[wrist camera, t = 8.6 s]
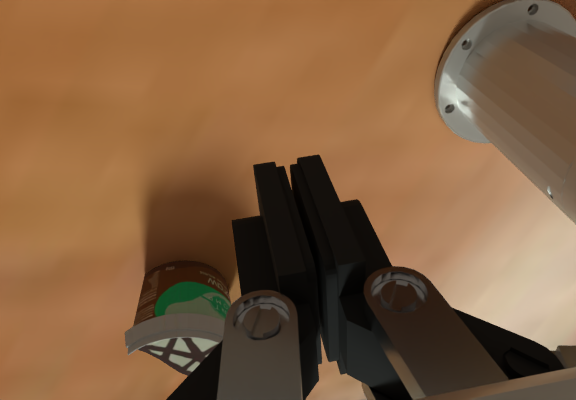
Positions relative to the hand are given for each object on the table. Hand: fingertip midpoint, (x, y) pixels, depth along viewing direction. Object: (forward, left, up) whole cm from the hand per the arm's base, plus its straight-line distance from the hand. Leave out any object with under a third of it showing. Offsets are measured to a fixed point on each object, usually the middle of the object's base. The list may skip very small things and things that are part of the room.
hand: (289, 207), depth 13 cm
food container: (-12, +26, -27) cm, 40 cm away
